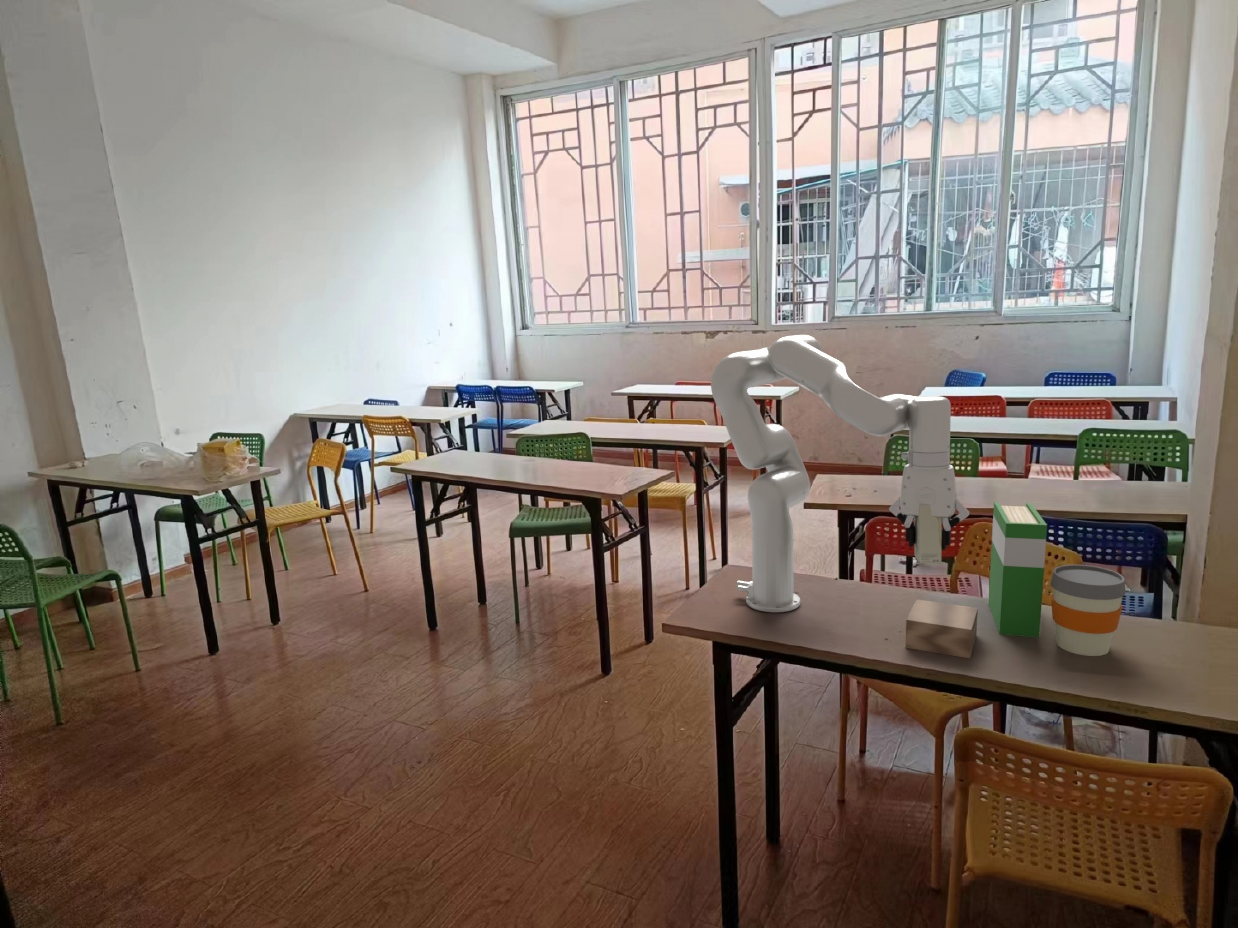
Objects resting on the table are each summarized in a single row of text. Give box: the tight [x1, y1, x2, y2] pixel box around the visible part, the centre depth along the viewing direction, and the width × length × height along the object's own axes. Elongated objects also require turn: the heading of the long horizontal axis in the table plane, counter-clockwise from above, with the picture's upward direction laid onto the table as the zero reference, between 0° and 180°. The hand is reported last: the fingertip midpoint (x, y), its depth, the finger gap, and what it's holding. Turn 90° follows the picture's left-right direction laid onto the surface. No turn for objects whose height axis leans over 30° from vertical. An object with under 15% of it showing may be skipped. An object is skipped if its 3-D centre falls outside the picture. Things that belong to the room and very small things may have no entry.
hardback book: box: [988, 501, 1048, 638], centre depth 165 cm, size 18×7×24 cm, turn 162°
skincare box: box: [914, 504, 943, 565], centre depth 155 cm, size 6×4×12 cm
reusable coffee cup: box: [1050, 564, 1126, 657], centre depth 151 cm, size 13×13×15 cm
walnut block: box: [905, 598, 979, 660], centre depth 157 cm, size 12×12×6 cm
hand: (927, 545), depth 155 cm, fingers closed on skincare box, 5 cm apart
